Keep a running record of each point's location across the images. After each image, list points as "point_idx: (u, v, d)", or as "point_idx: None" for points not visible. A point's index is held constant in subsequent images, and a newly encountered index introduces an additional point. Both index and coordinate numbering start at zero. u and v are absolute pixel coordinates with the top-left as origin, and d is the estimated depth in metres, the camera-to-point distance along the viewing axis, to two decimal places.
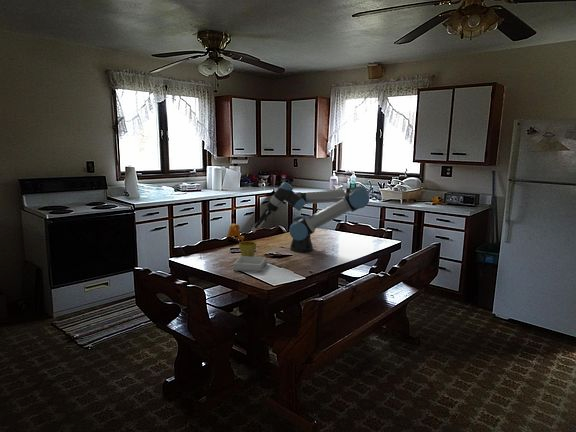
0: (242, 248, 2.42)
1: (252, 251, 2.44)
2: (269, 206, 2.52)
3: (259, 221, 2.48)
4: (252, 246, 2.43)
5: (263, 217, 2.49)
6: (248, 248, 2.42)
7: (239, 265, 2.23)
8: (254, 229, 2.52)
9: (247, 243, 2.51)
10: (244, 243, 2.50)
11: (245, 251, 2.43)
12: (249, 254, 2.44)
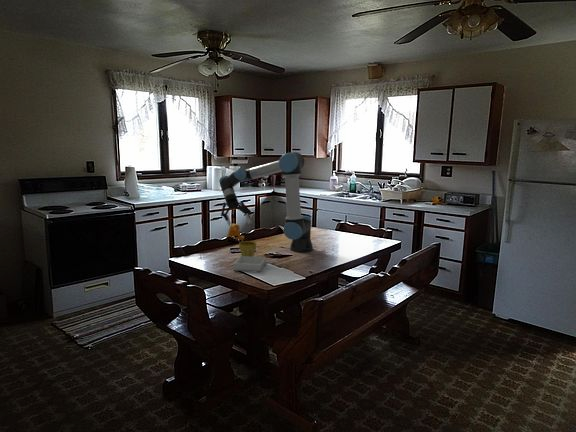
0: (242, 248, 2.42)
1: (252, 251, 2.44)
2: None
3: (221, 213, 2.53)
4: (252, 246, 2.43)
5: (222, 208, 2.55)
6: (248, 248, 2.42)
7: (239, 265, 2.23)
8: (228, 221, 2.51)
9: (247, 243, 2.51)
10: (244, 243, 2.50)
11: (245, 251, 2.43)
12: (249, 254, 2.44)
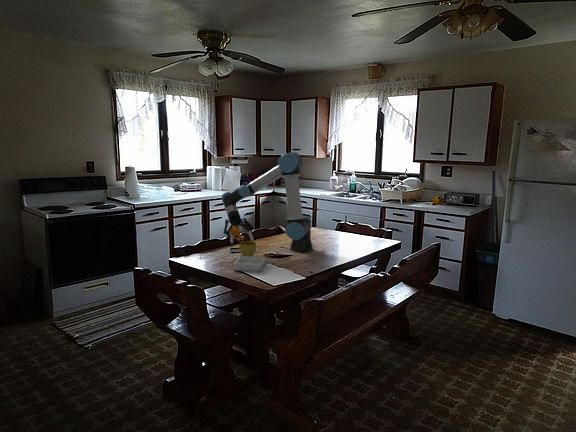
0: (242, 248, 2.42)
1: (252, 251, 2.44)
2: None
3: (224, 230, 2.50)
4: (252, 246, 2.43)
5: (225, 226, 2.52)
6: (248, 248, 2.42)
7: (239, 265, 2.23)
8: (231, 239, 2.47)
9: (247, 243, 2.51)
10: (244, 243, 2.50)
11: (245, 251, 2.43)
12: (249, 254, 2.44)
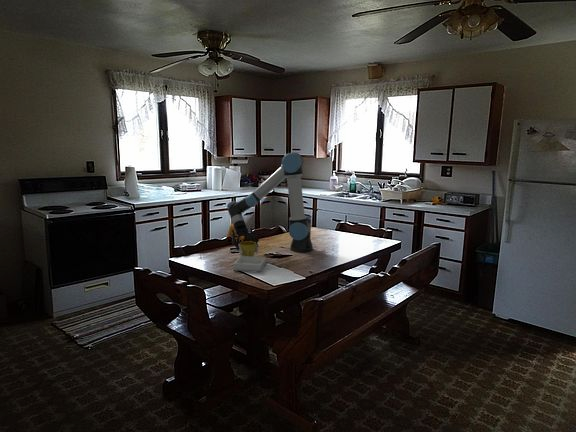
0: (242, 248, 2.42)
1: (252, 251, 2.44)
2: (234, 228, 2.53)
3: (232, 242, 2.45)
4: (252, 246, 2.43)
5: (232, 237, 2.46)
6: (248, 248, 2.42)
7: (239, 265, 2.23)
8: (240, 251, 2.42)
9: (247, 243, 2.51)
10: (244, 243, 2.50)
11: (245, 251, 2.43)
12: (249, 254, 2.44)
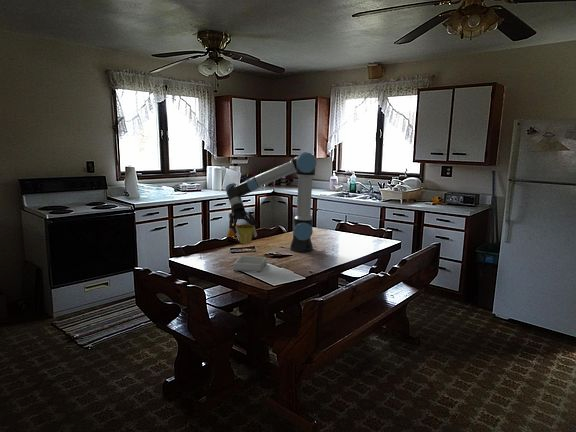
0: (239, 231, 2.33)
1: (250, 235, 2.35)
2: (232, 210, 2.44)
3: (229, 225, 2.36)
4: (250, 229, 2.33)
5: (230, 220, 2.37)
6: (245, 231, 2.33)
7: (239, 265, 2.23)
8: (237, 234, 2.34)
9: (245, 226, 2.42)
10: (242, 226, 2.41)
11: (242, 234, 2.34)
12: (247, 238, 2.35)
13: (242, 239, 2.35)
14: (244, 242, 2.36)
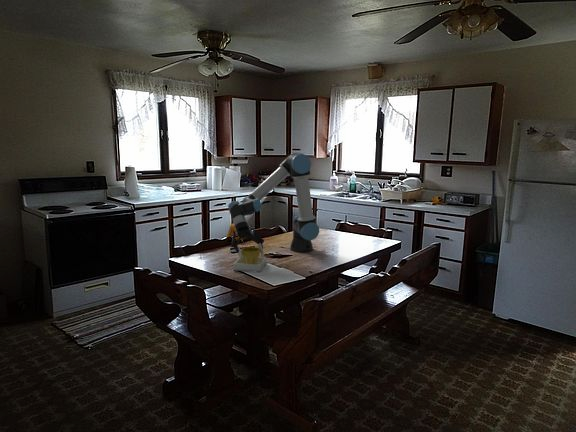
0: (245, 255, 2.25)
1: (256, 258, 2.27)
2: (236, 229, 2.35)
3: (231, 244, 2.26)
4: (256, 252, 2.25)
5: (232, 239, 2.28)
6: (251, 255, 2.24)
7: (239, 265, 2.23)
8: (239, 253, 2.24)
9: (250, 249, 2.34)
10: (247, 249, 2.33)
11: (248, 258, 2.26)
12: (252, 261, 2.27)
13: (248, 262, 2.27)
14: None
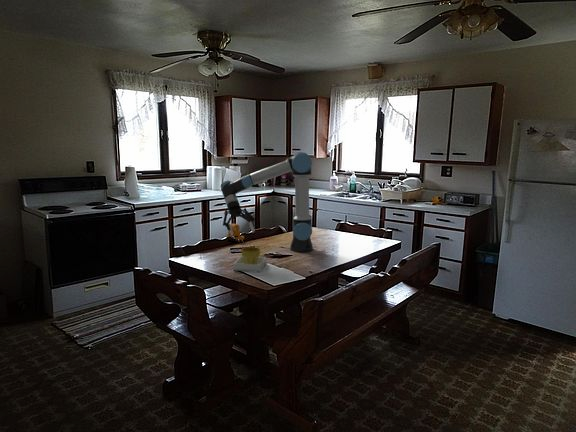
0: (245, 255, 2.25)
1: (256, 258, 2.27)
2: (228, 208, 2.45)
3: (223, 222, 2.37)
4: (256, 253, 2.25)
5: (224, 217, 2.39)
6: (251, 255, 2.24)
7: (239, 265, 2.23)
8: (230, 231, 2.35)
9: (250, 249, 2.34)
10: (247, 249, 2.33)
11: (248, 258, 2.26)
12: (252, 261, 2.27)
13: (248, 263, 2.27)
14: None
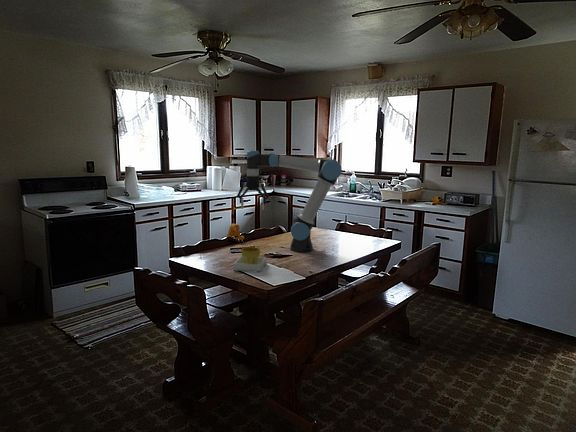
0: (245, 255, 2.25)
1: (256, 258, 2.27)
2: None
3: None
4: (256, 253, 2.25)
5: (240, 189, 2.54)
6: (251, 255, 2.24)
7: (239, 265, 2.23)
8: None
9: (250, 249, 2.34)
10: (247, 249, 2.33)
11: (248, 258, 2.26)
12: (252, 261, 2.27)
13: (248, 263, 2.27)
14: None
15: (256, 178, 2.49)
